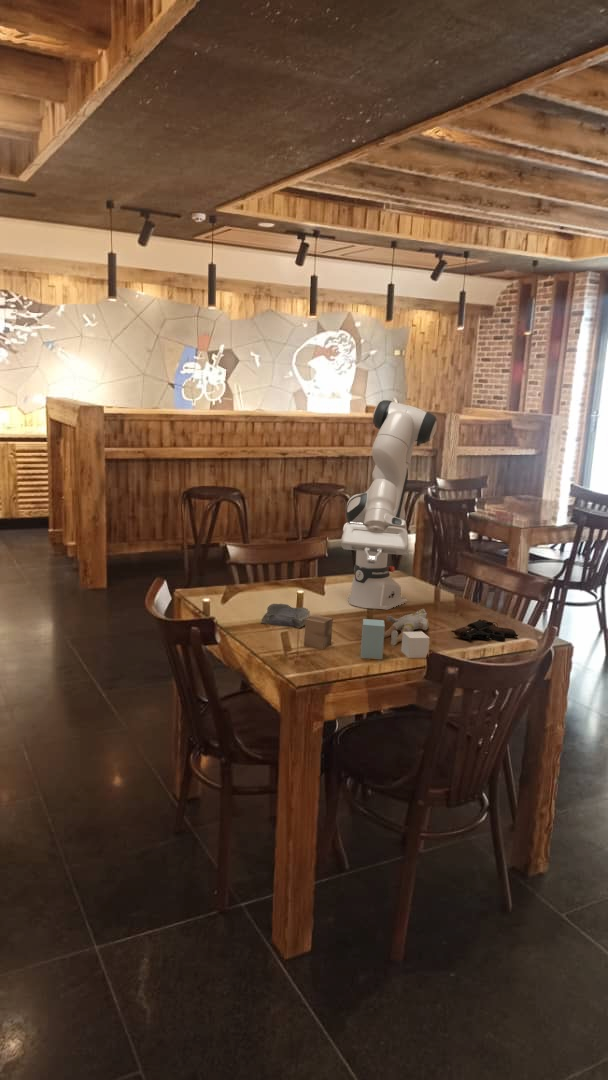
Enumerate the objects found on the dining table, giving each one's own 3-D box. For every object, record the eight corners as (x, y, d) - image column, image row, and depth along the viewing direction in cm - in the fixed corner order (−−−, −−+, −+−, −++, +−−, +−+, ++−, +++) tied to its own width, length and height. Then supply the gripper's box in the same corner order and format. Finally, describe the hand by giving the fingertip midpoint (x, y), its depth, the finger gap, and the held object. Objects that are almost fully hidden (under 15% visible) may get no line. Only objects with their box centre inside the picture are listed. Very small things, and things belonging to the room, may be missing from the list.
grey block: (401, 651, 230) (402, 631, 229) (420, 651, 231) (422, 631, 230) (408, 658, 224) (409, 638, 223) (427, 657, 226) (429, 637, 224)
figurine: (365, 624, 239) (406, 600, 264) (364, 643, 240) (405, 618, 265) (405, 633, 232) (443, 607, 257) (404, 652, 233) (441, 625, 258)
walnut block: (313, 640, 235) (314, 614, 234) (331, 644, 233) (332, 618, 231) (303, 645, 230) (305, 619, 229) (322, 649, 227) (323, 623, 226)
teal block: (360, 652, 227) (363, 618, 225) (381, 653, 227) (383, 620, 225) (360, 658, 221) (363, 624, 219) (382, 660, 221) (384, 626, 219)
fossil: (303, 630, 246) (304, 619, 245) (256, 623, 250) (257, 612, 249) (316, 618, 261) (317, 607, 260) (271, 612, 265) (272, 601, 264)
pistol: (522, 629, 250) (481, 614, 259) (494, 641, 236) (452, 624, 245) (520, 641, 251) (478, 626, 260) (492, 654, 237) (449, 637, 246)
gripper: (343, 515, 239) (336, 553, 232) (410, 521, 235) (405, 560, 228) (345, 527, 244) (337, 564, 237) (411, 533, 240) (405, 571, 233)
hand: (371, 562), depth 232 cm, fingers closed
